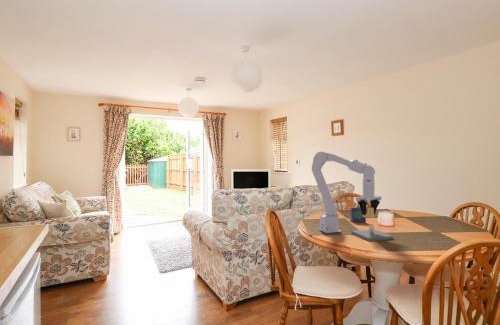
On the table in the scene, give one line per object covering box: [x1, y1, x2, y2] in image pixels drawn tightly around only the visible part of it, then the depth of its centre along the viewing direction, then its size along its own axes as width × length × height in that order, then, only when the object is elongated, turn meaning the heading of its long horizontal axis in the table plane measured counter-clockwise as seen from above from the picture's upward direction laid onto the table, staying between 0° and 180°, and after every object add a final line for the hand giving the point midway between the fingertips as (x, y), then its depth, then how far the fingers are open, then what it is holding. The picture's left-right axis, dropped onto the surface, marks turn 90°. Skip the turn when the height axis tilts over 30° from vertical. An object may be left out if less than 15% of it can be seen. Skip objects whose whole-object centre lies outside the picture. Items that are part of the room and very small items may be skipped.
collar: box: [363, 206, 375, 219], centre depth 147 cm, size 5×5×5 cm
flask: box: [349, 204, 367, 223], centre depth 176 cm, size 9×3×11 cm, turn 65°
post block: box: [350, 223, 394, 242], centre depth 143 cm, size 14×14×6 cm
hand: (368, 214), depth 147 cm, fingers closed on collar, 5 cm apart
